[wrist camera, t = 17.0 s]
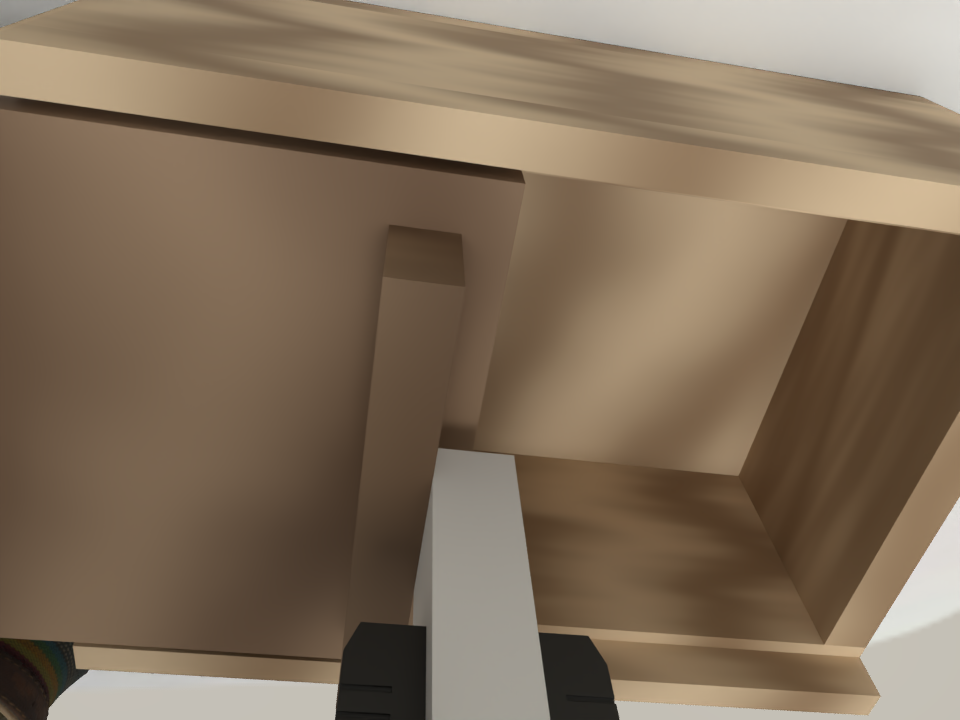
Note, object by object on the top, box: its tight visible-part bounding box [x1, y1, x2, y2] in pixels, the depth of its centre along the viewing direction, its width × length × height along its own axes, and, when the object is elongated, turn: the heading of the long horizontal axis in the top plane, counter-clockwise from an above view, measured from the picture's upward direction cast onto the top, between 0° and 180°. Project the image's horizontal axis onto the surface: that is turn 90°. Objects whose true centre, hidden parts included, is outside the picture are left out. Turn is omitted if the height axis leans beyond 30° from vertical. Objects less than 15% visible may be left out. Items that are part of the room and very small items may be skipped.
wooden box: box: [0, 0, 960, 715], centre depth 20 cm, size 20×14×9 cm
